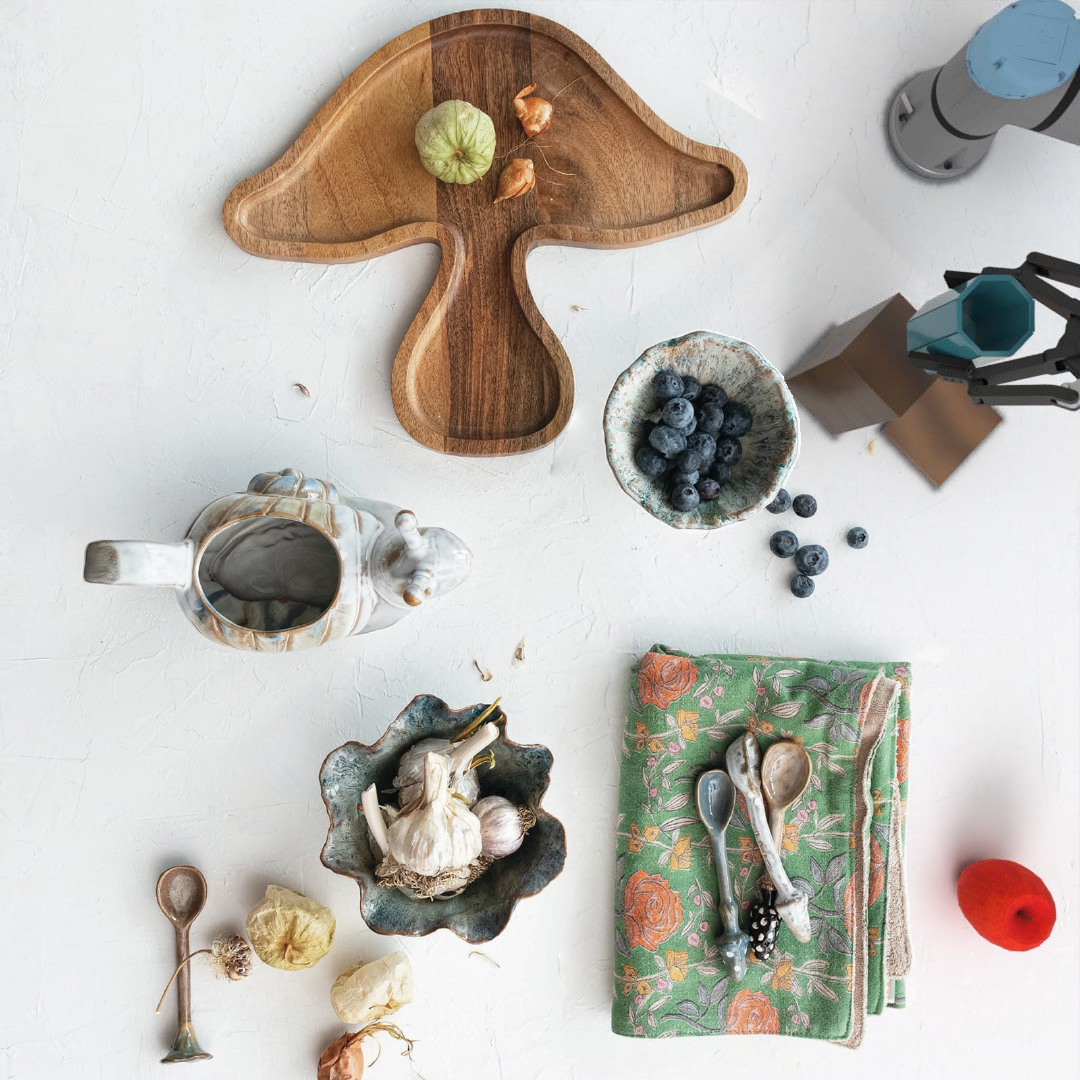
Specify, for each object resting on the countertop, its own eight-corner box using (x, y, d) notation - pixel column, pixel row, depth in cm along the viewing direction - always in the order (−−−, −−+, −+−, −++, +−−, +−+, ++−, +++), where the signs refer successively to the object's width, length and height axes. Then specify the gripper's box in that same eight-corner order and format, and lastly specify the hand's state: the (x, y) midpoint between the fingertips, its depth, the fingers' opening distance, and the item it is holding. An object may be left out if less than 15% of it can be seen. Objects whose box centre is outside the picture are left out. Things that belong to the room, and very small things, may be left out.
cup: (941, 285, 95) (995, 257, 85) (991, 337, 96) (1051, 315, 86) (892, 337, 95) (940, 315, 85) (942, 389, 95) (996, 373, 85)
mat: (943, 362, 126) (947, 361, 125) (999, 419, 127) (1003, 418, 126) (879, 430, 125) (883, 429, 124) (935, 487, 126) (939, 486, 125)
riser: (832, 329, 125) (899, 291, 105) (884, 382, 125) (960, 355, 105) (781, 382, 124) (838, 355, 104) (833, 435, 125) (900, 418, 105)
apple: (1019, 910, 128) (1081, 955, 115) (945, 929, 127) (1000, 976, 114) (1004, 834, 128) (1065, 870, 114) (930, 853, 127) (983, 891, 114)
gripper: (1130, 473, 80) (899, 422, 95) (1221, 265, 80) (976, 247, 95) (1124, 444, 75) (879, 395, 89) (1222, 221, 75) (962, 209, 90)
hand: (929, 319), depth 92 cm, fingers closed on cup, 9 cm apart
